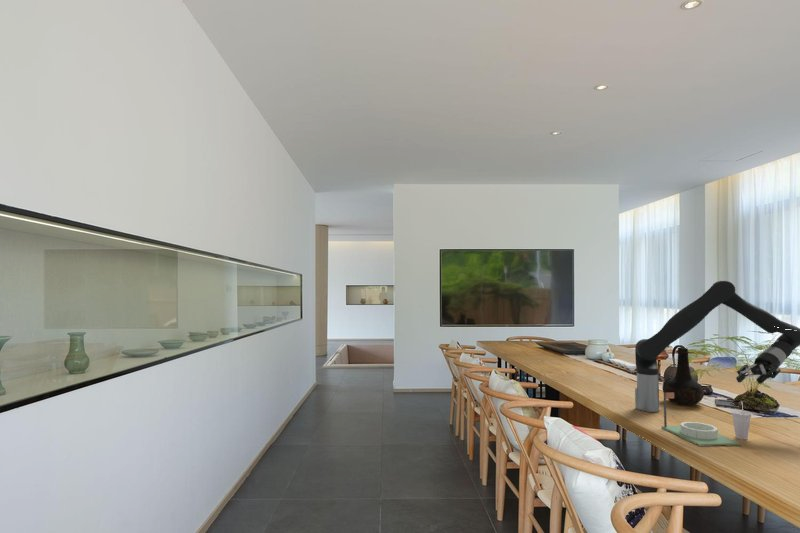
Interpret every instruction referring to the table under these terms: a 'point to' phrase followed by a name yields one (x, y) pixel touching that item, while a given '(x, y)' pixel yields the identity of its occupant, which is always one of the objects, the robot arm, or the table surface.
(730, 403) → the picture frame
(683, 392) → the glass bottle
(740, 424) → the smoothie
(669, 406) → the table surface
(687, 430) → the practice green
